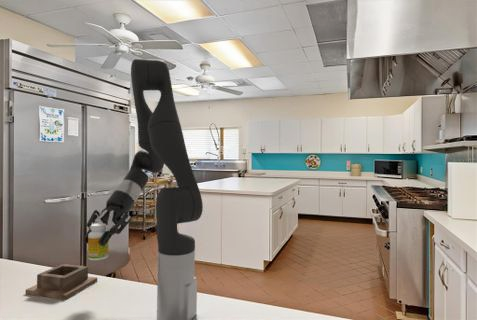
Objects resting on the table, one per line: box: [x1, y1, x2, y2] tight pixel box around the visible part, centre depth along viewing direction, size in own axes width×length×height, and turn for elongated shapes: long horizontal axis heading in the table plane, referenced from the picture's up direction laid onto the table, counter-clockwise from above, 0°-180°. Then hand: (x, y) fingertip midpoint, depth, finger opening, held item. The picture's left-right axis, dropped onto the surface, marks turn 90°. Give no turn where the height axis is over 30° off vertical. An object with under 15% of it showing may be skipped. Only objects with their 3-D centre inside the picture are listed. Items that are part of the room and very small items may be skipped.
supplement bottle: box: [87, 222, 109, 261], centre depth 86 cm, size 5×5×10 cm
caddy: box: [25, 263, 98, 300], centre depth 91 cm, size 14×13×5 cm
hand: (93, 243), depth 84 cm, fingers closed on supplement bottle, 5 cm apart
